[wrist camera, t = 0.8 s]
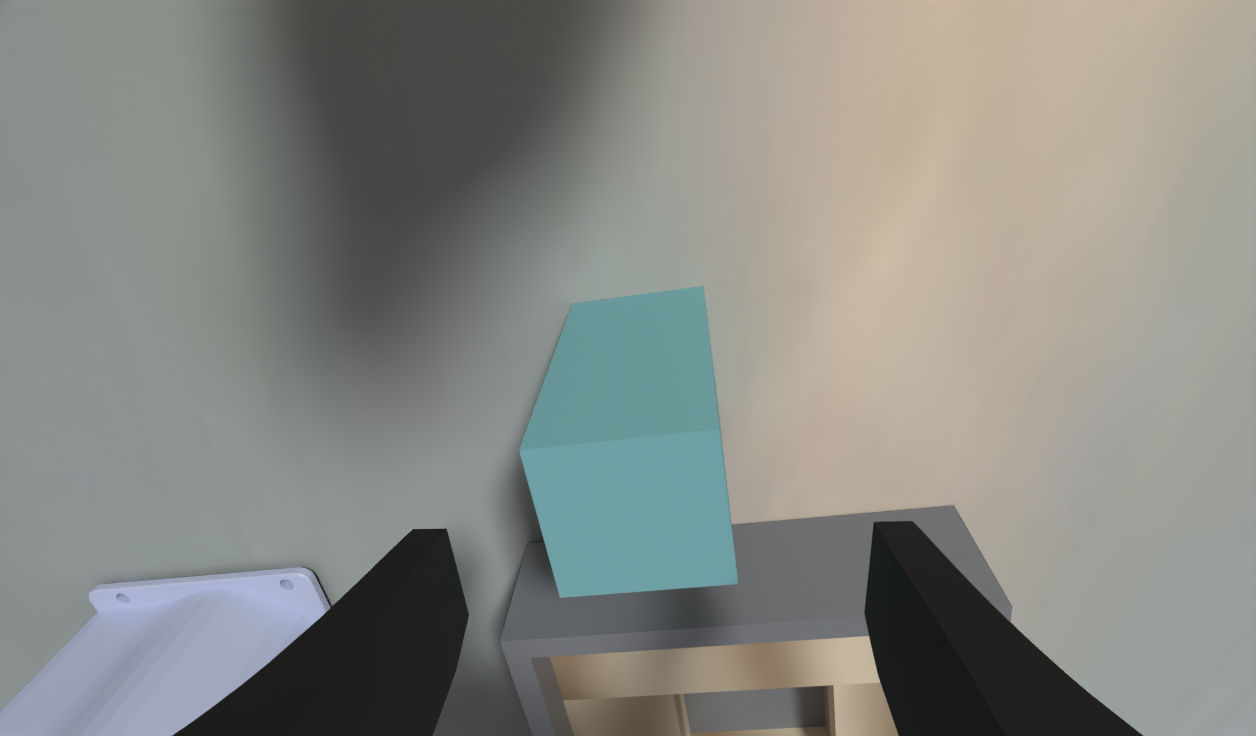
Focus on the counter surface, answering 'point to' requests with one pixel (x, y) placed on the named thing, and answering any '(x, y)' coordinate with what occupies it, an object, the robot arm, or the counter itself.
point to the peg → (631, 450)
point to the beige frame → (721, 686)
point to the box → (724, 614)
